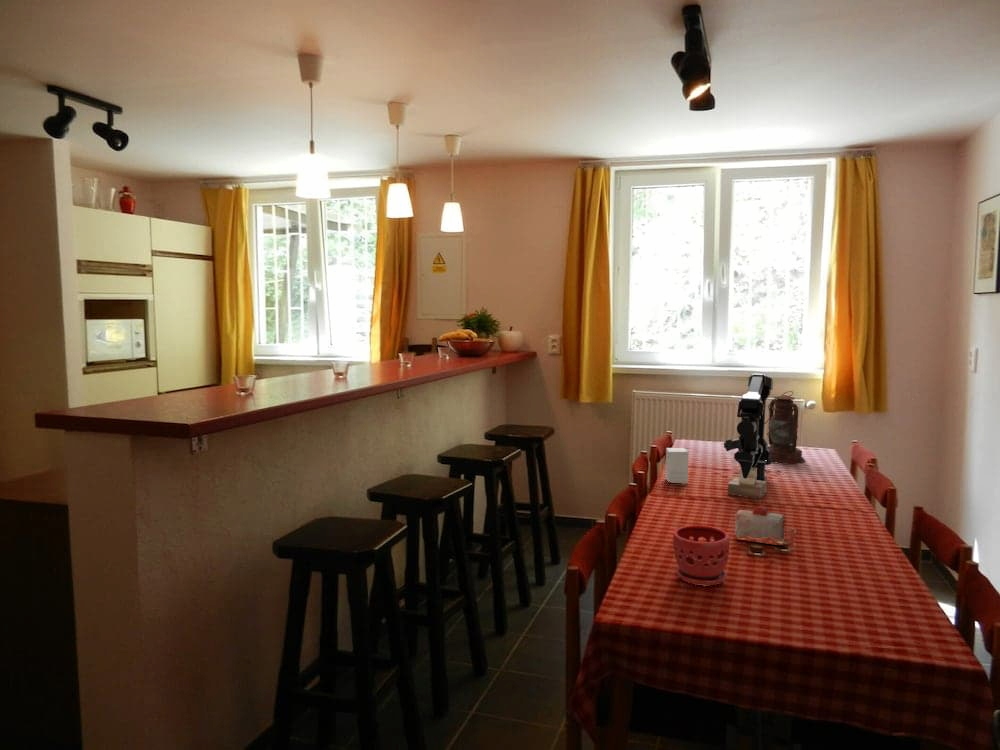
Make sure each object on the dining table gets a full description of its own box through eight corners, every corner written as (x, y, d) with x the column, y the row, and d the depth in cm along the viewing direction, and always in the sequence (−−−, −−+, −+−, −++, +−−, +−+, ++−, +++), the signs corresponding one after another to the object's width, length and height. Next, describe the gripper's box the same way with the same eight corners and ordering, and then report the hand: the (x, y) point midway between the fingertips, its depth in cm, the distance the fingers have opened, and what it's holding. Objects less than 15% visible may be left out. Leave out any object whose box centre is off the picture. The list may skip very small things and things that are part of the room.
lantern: (749, 456, 308) (752, 389, 306) (784, 453, 314) (787, 388, 311) (778, 465, 290) (781, 395, 288) (814, 462, 296) (818, 393, 293)
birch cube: (742, 479, 250) (742, 466, 249) (756, 481, 247) (756, 468, 247) (738, 482, 245) (739, 469, 245) (753, 484, 243) (754, 470, 242)
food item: (732, 541, 196) (733, 507, 195) (735, 533, 203) (736, 500, 202) (783, 549, 190) (785, 514, 189) (785, 540, 197) (787, 506, 196)
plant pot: (685, 565, 177) (687, 520, 176) (736, 578, 169) (738, 531, 168) (662, 581, 167) (664, 533, 166) (715, 595, 159) (717, 545, 158)
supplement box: (684, 480, 266) (685, 447, 264) (687, 484, 258) (688, 451, 257) (665, 479, 266) (665, 447, 265) (667, 484, 259) (668, 451, 258)
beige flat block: (735, 487, 254) (735, 477, 254) (766, 492, 248) (766, 481, 248) (727, 494, 245) (728, 483, 244) (760, 499, 239) (760, 487, 239)
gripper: (732, 426, 257) (731, 467, 258) (719, 434, 241) (718, 478, 242) (763, 429, 251) (762, 471, 252) (753, 437, 235) (751, 482, 237)
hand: (747, 475), depth 246 cm, fingers open, 9 cm apart
